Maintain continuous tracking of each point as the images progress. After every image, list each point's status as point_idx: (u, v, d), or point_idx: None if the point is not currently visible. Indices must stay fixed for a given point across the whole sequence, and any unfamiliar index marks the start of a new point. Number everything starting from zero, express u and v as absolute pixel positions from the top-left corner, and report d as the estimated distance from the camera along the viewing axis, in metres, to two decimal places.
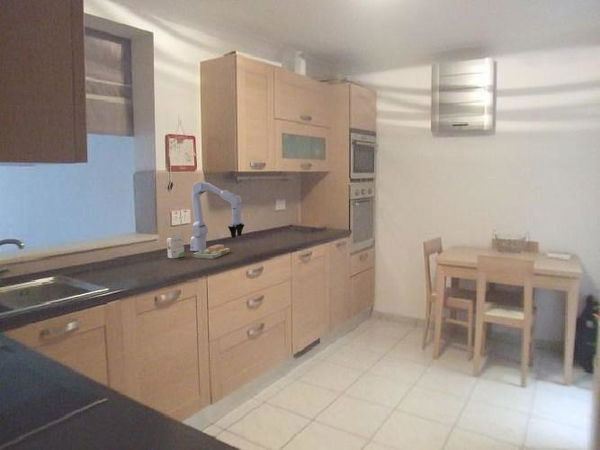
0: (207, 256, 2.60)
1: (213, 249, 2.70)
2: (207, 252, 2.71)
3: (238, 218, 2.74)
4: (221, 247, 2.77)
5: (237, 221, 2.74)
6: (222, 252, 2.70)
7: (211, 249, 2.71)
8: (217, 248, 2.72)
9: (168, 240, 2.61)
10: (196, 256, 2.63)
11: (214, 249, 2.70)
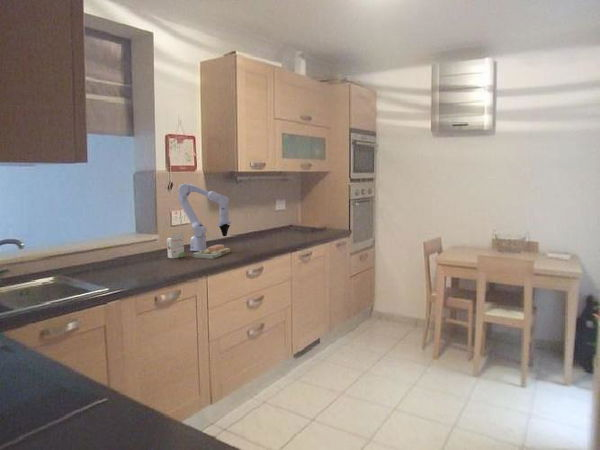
0: (207, 256, 2.60)
1: (213, 249, 2.70)
2: (207, 252, 2.71)
3: (226, 218, 2.82)
4: (221, 247, 2.77)
5: (225, 221, 2.82)
6: (222, 252, 2.70)
7: (211, 249, 2.71)
8: (217, 248, 2.72)
9: (168, 240, 2.61)
10: (196, 256, 2.63)
11: (214, 249, 2.70)
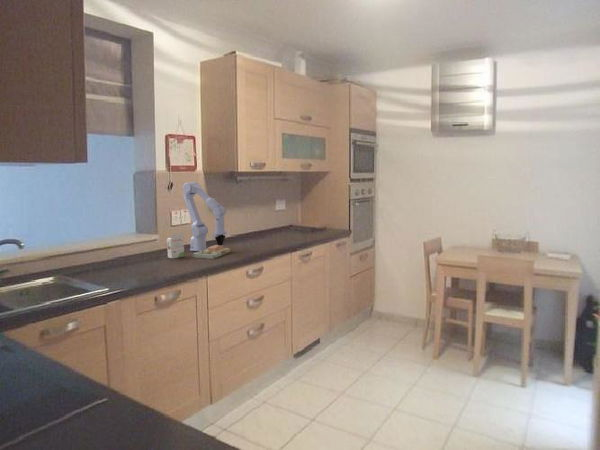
0: (207, 256, 2.60)
1: (213, 249, 2.70)
2: (207, 252, 2.71)
3: (221, 229, 2.77)
4: (220, 247, 2.76)
5: (221, 232, 2.77)
6: (222, 252, 2.70)
7: (211, 249, 2.70)
8: (217, 248, 2.72)
9: (168, 240, 2.61)
10: (196, 256, 2.63)
11: (214, 249, 2.70)
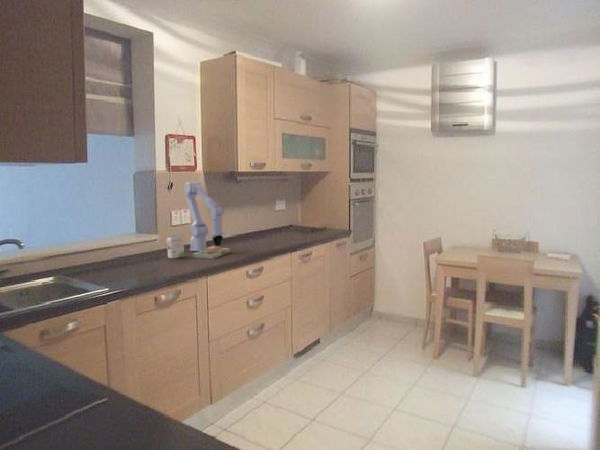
0: (207, 256, 2.60)
1: (210, 250, 2.67)
2: (207, 252, 2.71)
3: (219, 229, 2.74)
4: (217, 248, 2.73)
5: (218, 232, 2.74)
6: (222, 252, 2.70)
7: (208, 250, 2.67)
8: (214, 249, 2.69)
9: (168, 240, 2.61)
10: (196, 256, 2.63)
11: (211, 250, 2.67)
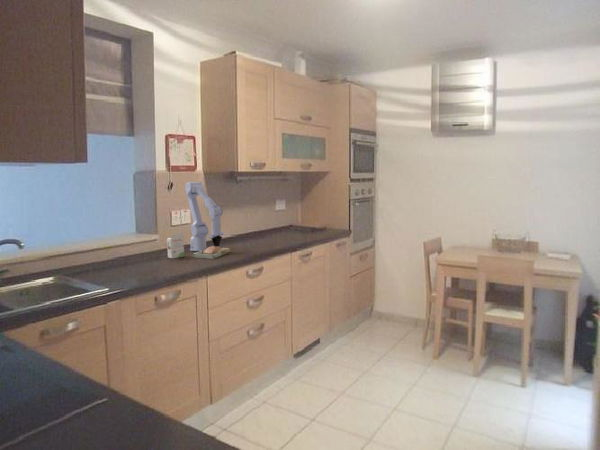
0: (207, 256, 2.60)
1: (209, 254, 2.66)
2: None
3: (218, 230, 2.73)
4: (216, 249, 2.71)
5: (217, 233, 2.73)
6: (222, 252, 2.70)
7: None
8: (213, 251, 2.67)
9: (168, 240, 2.61)
10: (196, 256, 2.63)
11: (210, 254, 2.66)
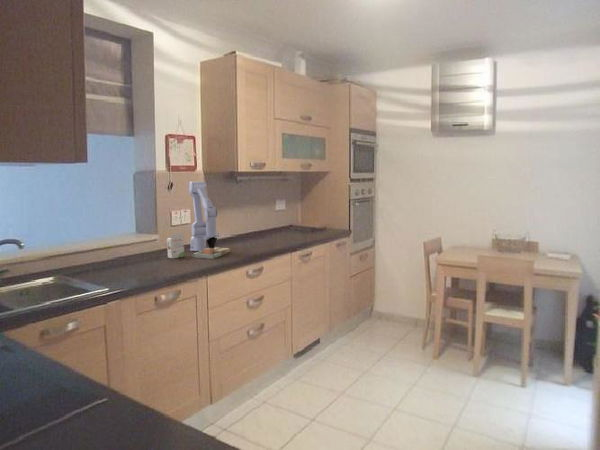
0: (207, 256, 2.60)
1: None
2: None
3: (213, 231, 2.67)
4: (211, 250, 2.66)
5: (212, 234, 2.67)
6: (222, 252, 2.70)
7: None
8: (211, 254, 2.65)
9: (168, 240, 2.61)
10: (196, 256, 2.63)
11: None
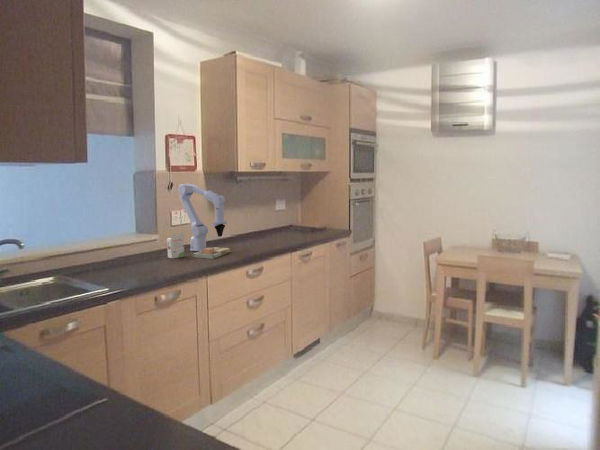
0: (207, 256, 2.60)
1: None
2: None
3: (221, 218, 2.76)
4: (211, 250, 2.66)
5: (220, 221, 2.76)
6: (222, 252, 2.70)
7: None
8: (211, 254, 2.65)
9: (168, 240, 2.61)
10: (196, 256, 2.63)
11: None
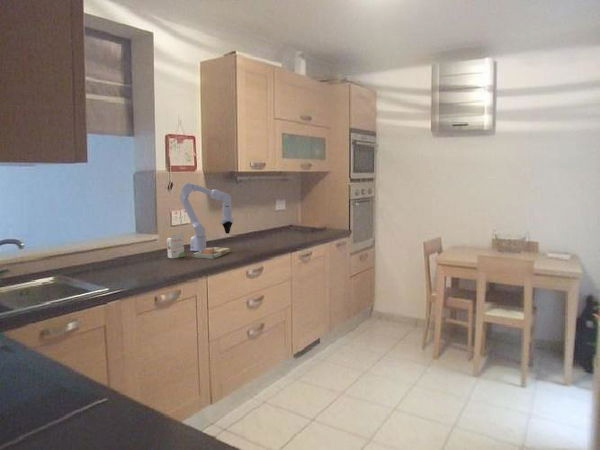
0: (207, 256, 2.60)
1: None
2: None
3: (229, 215, 2.85)
4: (211, 250, 2.66)
5: (228, 218, 2.85)
6: (222, 252, 2.70)
7: None
8: (211, 254, 2.65)
9: (168, 240, 2.61)
10: (196, 256, 2.63)
11: None
